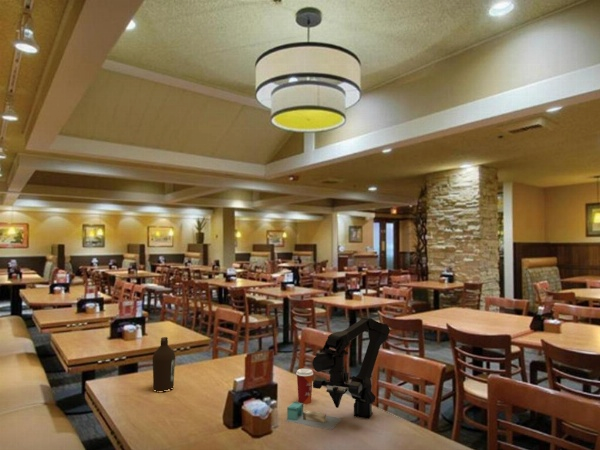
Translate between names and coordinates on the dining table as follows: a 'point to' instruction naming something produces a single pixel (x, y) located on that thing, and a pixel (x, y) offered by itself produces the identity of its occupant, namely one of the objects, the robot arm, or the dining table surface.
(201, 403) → the dining table surface
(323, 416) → the long wooden beam
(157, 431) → the dining table surface
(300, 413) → the teal faceted block
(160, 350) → the olive oil
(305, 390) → the paper cup
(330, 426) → the mat
